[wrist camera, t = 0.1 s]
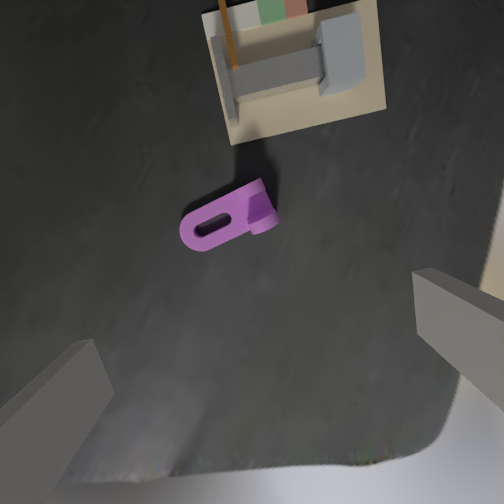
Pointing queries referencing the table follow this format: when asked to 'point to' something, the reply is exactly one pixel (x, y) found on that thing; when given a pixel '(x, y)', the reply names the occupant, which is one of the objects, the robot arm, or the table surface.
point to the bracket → (241, 211)
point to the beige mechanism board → (296, 39)
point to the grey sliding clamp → (263, 72)
